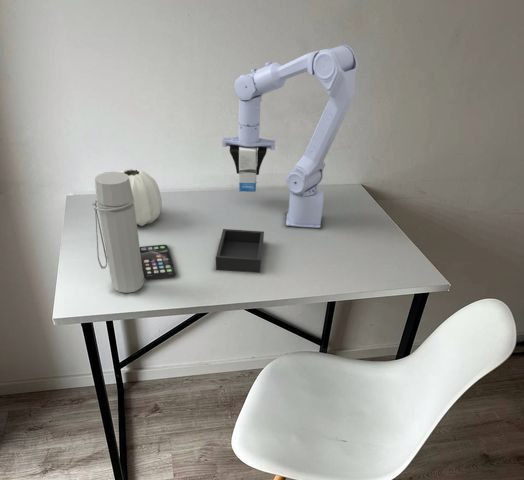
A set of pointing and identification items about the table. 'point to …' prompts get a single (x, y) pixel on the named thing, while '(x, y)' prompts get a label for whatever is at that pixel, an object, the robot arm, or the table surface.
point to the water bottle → (119, 231)
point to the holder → (240, 250)
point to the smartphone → (156, 262)
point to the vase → (144, 196)
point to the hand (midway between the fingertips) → (248, 173)
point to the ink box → (247, 168)
